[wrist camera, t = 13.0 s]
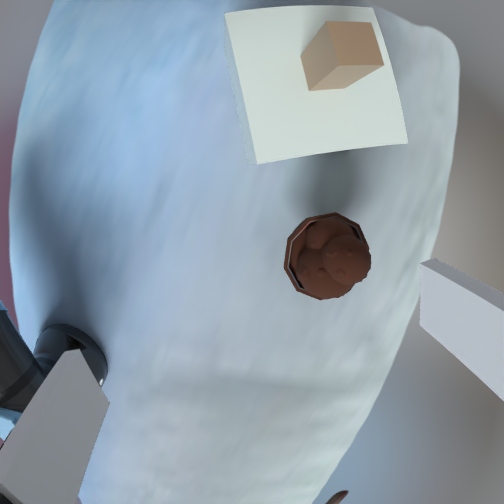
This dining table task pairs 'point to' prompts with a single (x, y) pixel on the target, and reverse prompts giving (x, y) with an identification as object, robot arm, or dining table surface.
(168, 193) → the dining table surface
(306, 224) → the ice cream bowl
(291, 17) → the white box with knob
